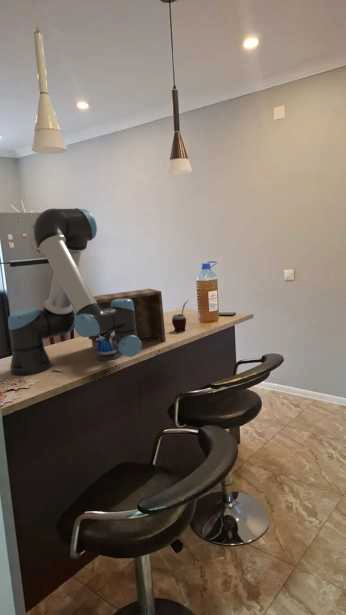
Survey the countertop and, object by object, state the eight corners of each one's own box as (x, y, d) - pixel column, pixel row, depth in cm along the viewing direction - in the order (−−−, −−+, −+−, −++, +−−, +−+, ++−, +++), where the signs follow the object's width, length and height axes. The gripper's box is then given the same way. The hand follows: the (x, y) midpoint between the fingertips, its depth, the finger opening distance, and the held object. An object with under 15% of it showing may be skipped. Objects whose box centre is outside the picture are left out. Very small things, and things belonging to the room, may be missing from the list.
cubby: (100, 353, 176) (94, 300, 173) (92, 346, 190) (86, 297, 186) (165, 341, 188) (161, 291, 185) (153, 335, 202) (148, 288, 198)
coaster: (99, 362, 163) (99, 361, 163) (93, 357, 172) (93, 355, 172) (123, 357, 167) (123, 356, 167) (116, 352, 176) (116, 351, 176)
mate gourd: (170, 332, 206) (167, 302, 204) (178, 328, 213) (175, 300, 211) (183, 332, 203) (181, 302, 200) (190, 329, 209) (188, 300, 207)
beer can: (98, 350, 173) (94, 313, 170) (118, 348, 174) (114, 311, 171) (97, 356, 165) (92, 317, 162) (118, 353, 165) (113, 314, 163)
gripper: (91, 354, 148) (78, 342, 168) (146, 343, 156) (127, 333, 177) (89, 333, 147) (76, 324, 167) (144, 324, 155) (125, 316, 176)
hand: (102, 329), depth 172 cm, fingers closed on beer can, 8 cm apart
